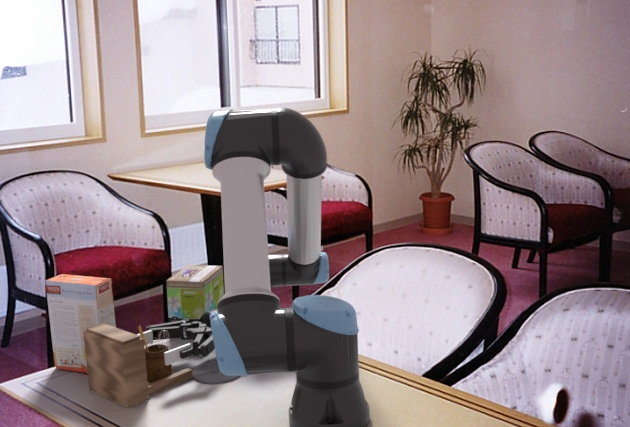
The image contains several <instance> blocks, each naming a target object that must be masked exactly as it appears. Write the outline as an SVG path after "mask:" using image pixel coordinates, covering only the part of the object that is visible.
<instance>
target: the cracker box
mask: <svg viewBox="0 0 630 427" xmlns="http://www.w3.org/2000/svg"><path fill="white" fill-rule="evenodd" d="M112 283H113V282H112V278H110V277H109V278H108V277H97V276H87V275H86V276H85V275H76V274H65V273H62V274H59V275H56V276H53V277H50V278H48V279H46V280H45V290H46V299H47V307H48V318H49V325H50V334H51V343H52V351H53V352H52V353H53V362H54V368H55V367H56V368H55V370H64V371H70V372H78V373H83V374H88V372H87V363H86V353H85V344H84V334H83V331H86V328H89V327H92V326H95V325H98V324H102V323H104V324H107V325H110V326H113V327H116V328H117V325H116V316H115V305H114V295H113V284H112Z"/></svg>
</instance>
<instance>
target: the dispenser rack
mask: <svg viewBox="0 0 630 427" xmlns="http://www.w3.org/2000/svg"><path fill="white" fill-rule="evenodd" d="M83 334H84V344H85V353H86V363H87V372H88V373H87V380H88V389H89V392H90V391H91V392H92V393H95V394H97V395H99V396H102V397H103V398H106V399H108V400H109V401H112V402H114V403H117V404H118V405H121V406H123V407H126V408H128V409H130V408H132V407H135V406H138V405H139V404H142V403H144V402H147V401H149V400H150V396H152V395H154V394H157V393H159V392H161V391H163V390H166V389H168V388H171V387H173V386H176V385H179V384H181V383H183V382H186V381H188V380H190V379H194V378H193V374H192V372H193V369H192V368H189V367H187V368H185V369H182V370H180V371H178V372H177V371H176V372H174V373H172V375H169V376H167V377H164V378H162V379H159V380H157V381H154V382H152V383H148V381H147V370H146V358H145V348H146V346H145V345H144V339H143V338H140V336H138V335H137V334H135V333H132V332H130V331H127V330H124V329H122V328H119V327H118V328H117V326H116V327H113V326H110V325H107V324H104V323H102V324H98V325H95V326H92V327H89V328H86V331H83Z"/></svg>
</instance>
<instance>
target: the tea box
mask: <svg viewBox="0 0 630 427" xmlns="http://www.w3.org/2000/svg"><path fill="white" fill-rule="evenodd" d="M166 295H167V296H166V298H167V300H166V301H167V312H168V313H167V314H168V316H167V317H168V323H170V322H176V321H181V320H184V319H189V323H192V322H196V321H199V320H200V318H201V316H202V315H203V314H204V313H205V312H208V311H211V310H214V309H217V303H218V301H219V300H220V299H221V298H222V297H223V296H224V295H225V284H224V267H223V265H206V264H204V265H203V264H202V265H201V264H200V265H198V264H187V265H186V266H184V267H183V268H181V269H180V270H178V271H177V272H176V273H175V274H173V275H171V277H169V278H168V279H166ZM184 336H186V333H185V332H184Z"/></svg>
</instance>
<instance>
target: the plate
mask: <svg viewBox="0 0 630 427" xmlns="http://www.w3.org/2000/svg"><path fill="white" fill-rule="evenodd" d="M192 374H193V378H192V379H194V380H195V381H197V382H198V383H199V382H200V383H203V384H222V383H223V384H224V383H228V382H231V381H235V380H237V379H239V378H241V376H227V375H224V374H223V373H221V371H220V370H219V367H218V362H217V360H215V361H213V360H212V361H207V362H205V363H202V364H200V365H198V366H195V368H194V369H192Z"/></svg>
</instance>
